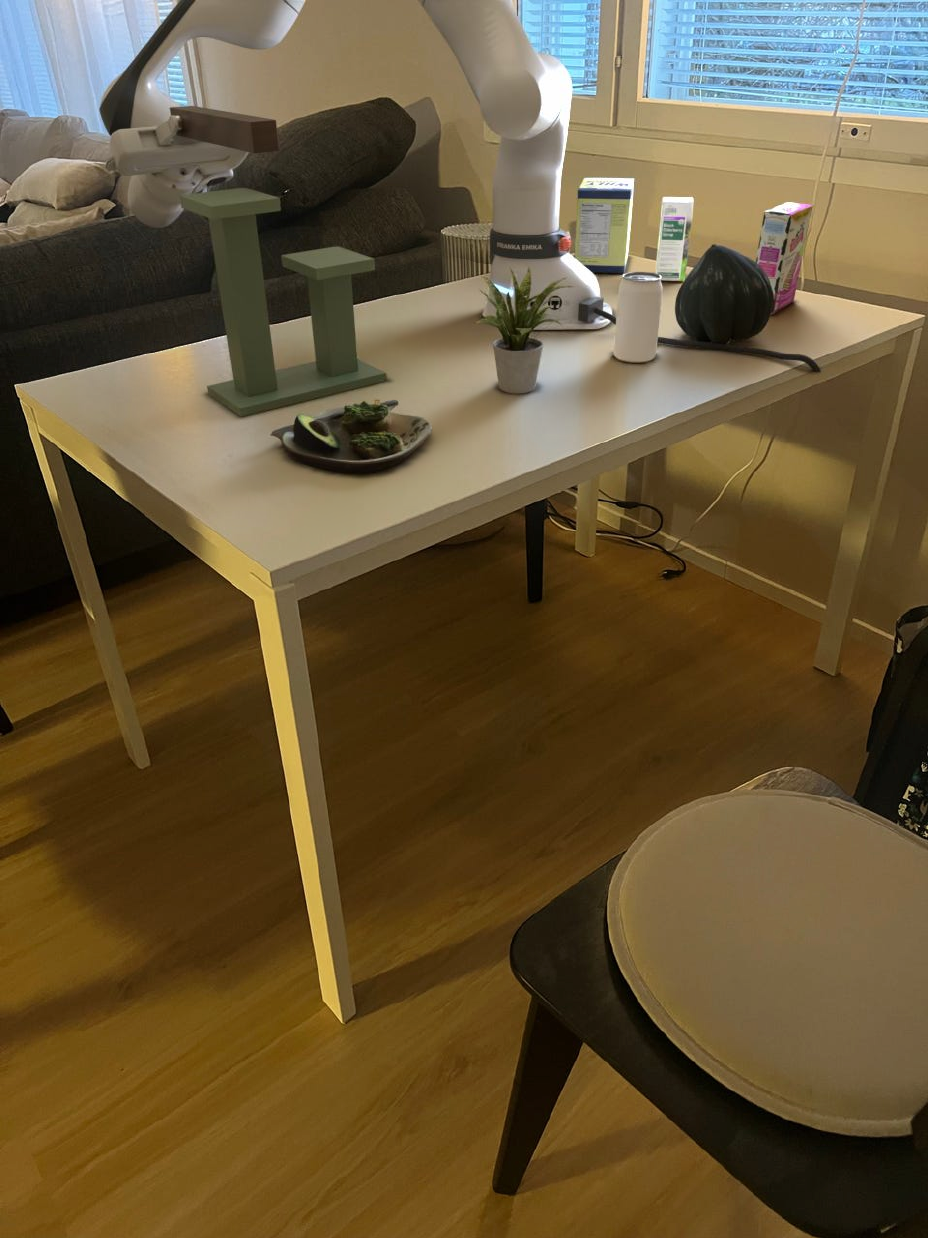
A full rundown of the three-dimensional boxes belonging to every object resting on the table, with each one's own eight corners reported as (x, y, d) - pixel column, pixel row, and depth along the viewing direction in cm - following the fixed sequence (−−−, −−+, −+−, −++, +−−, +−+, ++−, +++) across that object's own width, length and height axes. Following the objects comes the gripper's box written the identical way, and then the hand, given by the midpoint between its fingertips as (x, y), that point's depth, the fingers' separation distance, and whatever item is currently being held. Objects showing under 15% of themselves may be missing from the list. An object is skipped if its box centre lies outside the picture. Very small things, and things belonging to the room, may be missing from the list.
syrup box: (654, 281, 180) (663, 200, 172) (654, 273, 185) (662, 195, 177) (684, 281, 179) (694, 201, 171) (683, 274, 184) (693, 195, 176)
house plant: (583, 404, 126) (591, 280, 117) (484, 411, 124) (484, 286, 115) (557, 370, 137) (563, 255, 128) (466, 376, 136) (465, 260, 126)
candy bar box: (773, 315, 159) (791, 214, 150) (746, 311, 162) (762, 210, 153) (796, 301, 167) (814, 203, 158) (769, 297, 169) (785, 200, 160)
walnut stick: (174, 134, 130) (169, 107, 128) (196, 132, 132) (192, 105, 130) (254, 153, 112) (250, 121, 110) (279, 150, 114) (276, 119, 112)
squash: (802, 315, 140) (772, 225, 142) (716, 330, 136) (687, 237, 138) (753, 356, 154) (726, 273, 155) (674, 370, 150) (648, 285, 151)
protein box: (628, 256, 197) (635, 176, 188) (625, 274, 185) (632, 189, 176) (579, 254, 199) (583, 175, 190) (573, 272, 186) (577, 188, 178)
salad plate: (346, 403, 127) (343, 370, 124) (460, 425, 120) (459, 391, 117) (256, 454, 113) (251, 419, 110) (379, 483, 106) (376, 445, 103)
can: (655, 364, 139) (663, 282, 132) (611, 362, 140) (618, 280, 133) (656, 351, 144) (664, 271, 137) (614, 349, 145) (621, 269, 138)
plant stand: (208, 393, 131) (173, 194, 116) (348, 361, 142) (333, 176, 127) (241, 416, 123) (208, 207, 109) (386, 380, 134) (375, 186, 120)
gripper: (95, 150, 133) (111, 100, 121) (226, 137, 143) (254, 90, 131) (111, 194, 134) (129, 149, 122) (240, 178, 144) (269, 135, 132)
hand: (195, 118), depth 127 cm, fingers closed on walnut stick, 3 cm apart
